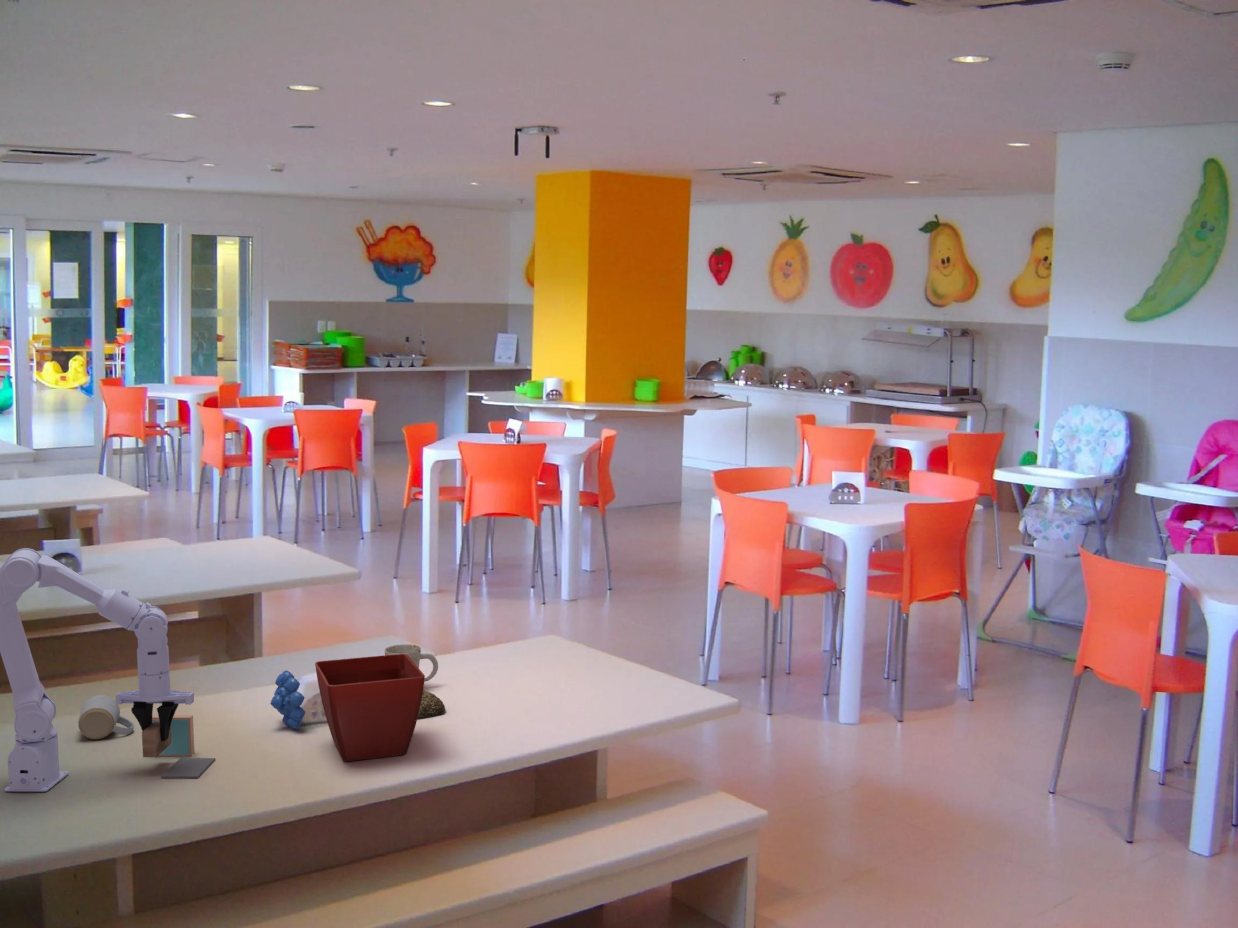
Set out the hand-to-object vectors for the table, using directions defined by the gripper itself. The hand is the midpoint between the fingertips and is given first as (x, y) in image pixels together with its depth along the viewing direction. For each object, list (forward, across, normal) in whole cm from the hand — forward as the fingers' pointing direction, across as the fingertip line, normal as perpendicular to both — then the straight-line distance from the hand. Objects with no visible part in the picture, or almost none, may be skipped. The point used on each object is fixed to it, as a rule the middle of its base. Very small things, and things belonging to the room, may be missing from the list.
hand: (156, 739), depth 245 cm
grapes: (+6, -18, -25) cm, 31 cm away
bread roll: (+6, -43, -37) cm, 57 cm away
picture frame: (+6, 0, -8) cm, 10 cm away
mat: (+6, -6, 0) cm, 8 cm away
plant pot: (+6, -39, -12) cm, 41 cm away
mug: (+6, -40, -53) cm, 67 cm away
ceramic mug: (+6, +19, -20) cm, 28 cm away
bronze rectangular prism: (+2, 0, 0) cm, 2 cm away
